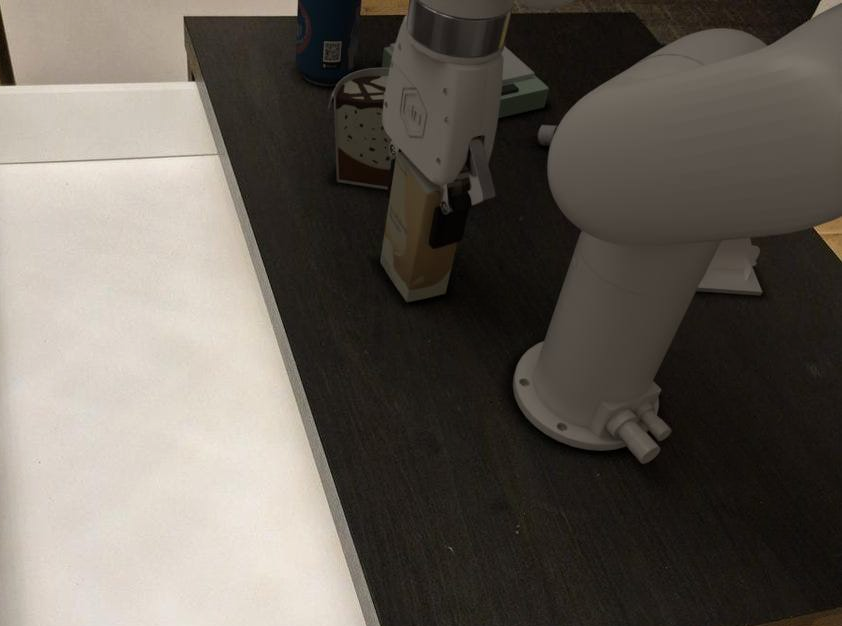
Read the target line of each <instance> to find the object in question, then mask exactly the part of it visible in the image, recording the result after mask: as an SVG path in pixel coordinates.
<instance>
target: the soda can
mask: <svg viewBox="0 0 842 626" xmlns="http://www.w3.org/2000/svg"><path fill="white" fill-rule="evenodd" d="M361 9H362V0H297V10H296V12H297V13H296V34H295V35H296V37H295V38H296V40H295V63H296V66H297V69H298V70H299V72H300V74H301V75H302V77H303V78H304V79H305V80H306V81H308V82H309V83H311V84H314V85H317V86H322V87H336V85H337V84H338V83H339V81H340V80H341V79H343V78H344V77H345V76H347V75H349V74H351V73H353V72H355V70H356V68H357V58H358V57H357V56H358V46H359V35H360V24H361V13H362V12H361V11H362V10H361Z"/></svg>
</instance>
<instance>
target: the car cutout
mask: <svg viewBox="0 0 842 626" xmlns="http://www.w3.org/2000/svg"><path fill="white" fill-rule="evenodd" d="M760 249H761V248H759V246H757V245H753V244H752V238H741V239H730V240H722V241H721V243H720V245H719V247H718V249H717V251H716V253H715V255H714V257H713V259H712V261H711V263H710V265H709V267H708V269H707V271H706V273H705V275H704V277H703V279H702V281H701V282H700V284H699V286H698V288H697V290H696V292H701V293H703V292H705V293H716V294H717V293H719V294H730V295H731V294H732V295H733V294H735V295H745V296H747V295H749V296H761V295H762V294H763V290H762V288H761V285H760V283H759V280H758V277H757V274H756V272H755V270H754V267H755V266H757V264H758V262H757V261H756V260H757V259H758V258H759V255H760V253H761V250H760Z"/></svg>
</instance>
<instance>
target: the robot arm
mask: <svg viewBox="0 0 842 626" xmlns="http://www.w3.org/2000/svg"><path fill="white" fill-rule="evenodd" d="M516 1H517V2H518V3H519V4H521V5H523V6H525V7H527V8H530V9H533V10H537V11H550V10H557V9H560V8H563V7H566V6H568V5H571V4H572V3H574V2H576V1H577V0H516ZM514 4H515V0H409V1H408V9H407V14H406V15H404V18H403V19H402V21H401V24H400V28H399V30H398V34H397V36H396V37H397V38H396V40H395V42H394V43H395V47H394V51H393V55H392V59H391V64H390V69H389V74H388V79H387V85H386V91H385V92H384V96H383V97H384V104H383V112H382V124H383V127H384V129H385V131H386V133H387V134H388V135H389V137H390V138H391V139H392V141H391V143H390V145H389V151H390V154H391V156H392V157H395V159H392V160H391V167H390V175H389V182H388V190H386V191H387V192H386V196H387V197H386V198H388V199H389V200H390V194H391V187H392V181H393V174H394V167H395V160H396V153H397V152H401V151H402V152H403V153H404V154H405V155H406V156H407V157H408V158H409V159H410V160H411V161H412V163H413V164H414V165H415V166H416V167H417V168H418V169H419V170H420V171H421V172H422V173H423V174H424V175H425V176H426V177H427V178H428V179H429V180H430V181H431V182H433V183H434V184H436V185H438V186H439V192H440V206H438V207H436V208H435V210H434V215H433V220H432V226H431V231H430V237H429V245H430V246H431V248H432V249H436V248H440V247H443V246H447V245H450V244H453V243H457V244H458V243H459V242H462V240H463V238H464V234H465V230H466V229H465V228H466V224H467V221H468V220H467V219H468V215H469V210H470V209H474V208H475V207H477V206H480V205H482V204H484V203H487V202H489V201H492V200H494V199H495V198H496V189H495V184H494V182H493V177H492V173H491V171H490V167H489V163H490V160H491V157H492V153H493V148H494V143H495V138H496V134H497V130H498V123H499V118H498V117H499V109H500V101H501V92H502V80H503V60H504V58H503V56H502V54H501V53H502V52H503V50H504V46H505V47H506V42H507V35H508V31H509V27H510V22H511V18H512V14H513V13H512V12H513V9H514ZM557 126H558V127H557V129H556V132H555V134H554V136H553V139H552V142H551V145H550V146H549V149H548V155H547V164H546V165H547V166H546V170H547V171H546V173H547V180H548V181H547V182H548V186H549V190H550V192H551V196H552V198H553V200H554V202H555V203H556V205H557V207H558V209H559V210H560V212H561V213H562V214H563V216H565V218H566V219H568V221H569V222H570V223H572V225H574V226H575V227H576V228H578V229H579V230H580V234H579V236H578V238H577V242H576V245H575V248H574V251H573V254H572V256H571V260H570V263H569V266H568V269H567V272H566V275H565V278H564V281H563V284H562V286H561V290H560V291H559V292H560V293H559V295H558V297H557V298H558V299H557V301H556V305H555V307H554V311H553V313H552V316H551V319H550V322H549V325H548V329H547V331H546V334H545V338H544V340H543V341H541V342H538V343H536V344H535V345H533V346H531V347H530V348H528V349H527V350H526V352H524V353H523V355H522V356H521V357H520V359H519V361H518V362H517V365H516V368H515V369H514V370H515V371H514V374H513V380H512V388H513V389H512V390H513V395H514V399H515V401H516V403H517V405H518V408H519V409H520V411H521V412H522V414H523V415H524V417H525V418H526V419H527V420H528V421H529V422H530V423H531V424H532V425H533V426H534V427H535V428H537V429H538V430H539V431H541V432H542V433H543V434H544V435H546V436H548V437H550V438H551V439H553V440H555V441H557V442H559V443H561V444H565V445H567V446H570V447H572V448H578V449H582V450H587V451H598V452H599V451H600V452H603V451H613V450H619V449H622V448H626V447H627V450H629V451H630V452H631V454H632V455H633V456H634V457H635V458H636V460H637V461H638V462H639V463H640V464H642V465H645V464H647V463H650V462H651V461H652V460H654V459H655V458H656V457H657V456H658V455H659V454H660V452H661V449H662V448H661V447H660V446H659V445H658V444H657V442H656V441H654V439H653V438H652V437H651V436H650V435H649V434H648V432H650V433H651V434H652V436H653V437H654V438H655V439H656V440H657V441H658V442H661V441H664V440H665V439H666V438H668V437H669V436H670V435H671V433H672V431H673V430H672V429H671V427H670V426H669V425H668V424H667V423H666V422H665V421H664V420H663V419H662V418H660V417H659V416H658V413H659V408H660V399H659V396H660V394H661V392H662V389H661V387H660V386H659V385H658V384H657V383H656V382H655V381H654V380H655V378H656V375H657V373H658V371H659V369H660V367H661V365H662V363H663V361H664V359H665V357H666V354H667V352H668V350H669V348H670V346H671V344H672V342H673V340H674V338H675V336H676V333H677V332H678V329H679V327H680V326H681V323H682V321H683V320H684V317H685V315H686V313H687V311H688V309H689V307H690V305H691V303H692V300H693V298H694V296H695V294H696V292H697V291H696V290H697V288H698V286H699V284H700V282H701V281H702V279H703V277H704V275H705V273H706V271H707V269H708V267H709V265H710V263H711V261H712V259H713V257H714V255H715V253H716V251H717V249H718V247H719V245H720V243H721V241H722V240H730V239H741V238H750V239H753V238H761V237H771V236H780V235H787V234H792V233H796V232H801V231H805V230H808V229H813V228H816V227H819V226H821V225H824V224H827V223H830V222H832V221H835V220H838V219H840V218H841V217H842V2H840V3H838V4H836V5H834V6H832V7H830V8H828V9H825V10H824V11H822V12H820V13H818V14H817V15H815V16H813V17H812V18H810V19H808V20H807V21H805V22H804V23H803V24H801V25H798V27H796V28H794V29H793V30H791V31H790V32H788V33H787V34H786V35H784V36H782V37H781V38H779V39H778V40H776V41H775V42H772V43H771V44H769V45H768V44H766V43H765V42H764V41H763V40H761V39H760V38H758V37H756V36H754V35H753V34H751V33H748V32H745V31H743V30H740V29H735V28H724V27H722V28H721V27H720V28H709V29H704V30H700V31H696V32H693V33H689V34H687V35H684V36H682V37H680V38H678V39H676V40H674V41H671V42H670V43H669V44H666V45H665V46H663V47H661V48H659V49H658V50H656V51H654V52H653V53H651V54H649V55H647V56H646V57H644V58H642V59H641V60H639V61H637V62H636V63H635V64H634V65H632V66H630V67H629V68H627V69H626V70H624V71H622V72H621V73H619V74H616V75H615V76H614V77H612V78H610V79H608V80H607V81H605V82H603V83H602V84H600V85H599V86H597V87H596V88H594V89H592V90H591V91H589V92H588V93H587V94H585V95H584V96H582V98H580V99H579V100H578V101H576V102H575V103H574V104H573V106H571V108H569V110H568V111H567V112H566V113H565V114H564V116H563V118H562V119H561V121H560V122H559V124H558V125H557ZM459 180H461V182H462V194H459V195H457V196H454V197H453V191H452V183H453V182H456V181H459Z"/></svg>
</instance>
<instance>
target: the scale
mask: <svg viewBox="0 0 842 626" xmlns="http://www.w3.org/2000/svg"><path fill="white" fill-rule="evenodd" d="M395 43H396V42H393V43H390V45H389V46H386V47H383V54H382V61H381V68H390V64H391V59H392V55H393V51H394V47H395ZM501 54H502V56H503V58H504V60H503V80H502V92H501V101H500V109H499V117H498V119H501V118H504V117H509V116H514V115H517V114H521V113H525V112H531V111H534V110H538V109H542V108H545V107H546V102H547V98H548V95H549V92H550V88H549V87H548V86H547V84H546V83H544V82H543V81H542V80H541V79H540V78H538V77H537V76H536V75H535V72H534V71H533V70H532V69H531V68H530V67H528V66H527V64H525V63H524V62H523V61H522V59H521V60H520V58H518V57H517V56H516V54H514V53H513V52H512V51H511V50H510V49H508V48H507V47H506V45H505V46H504V50H503V52H502V53H501Z"/></svg>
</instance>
